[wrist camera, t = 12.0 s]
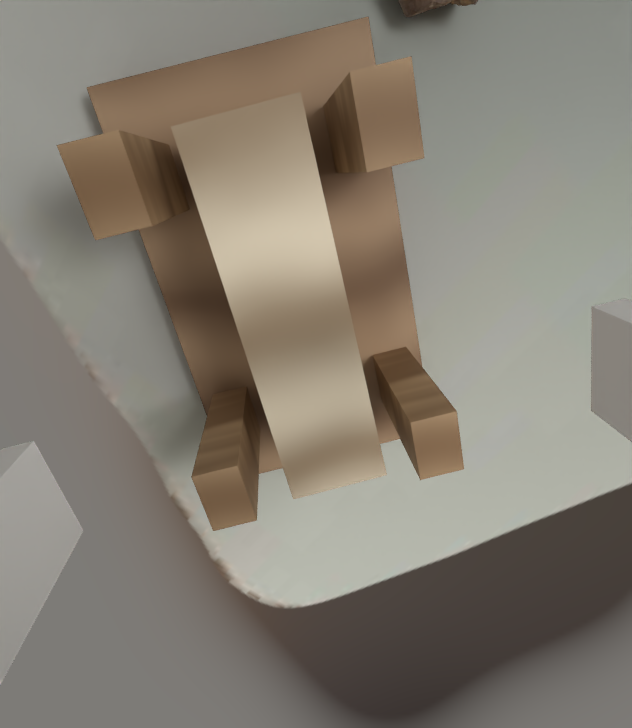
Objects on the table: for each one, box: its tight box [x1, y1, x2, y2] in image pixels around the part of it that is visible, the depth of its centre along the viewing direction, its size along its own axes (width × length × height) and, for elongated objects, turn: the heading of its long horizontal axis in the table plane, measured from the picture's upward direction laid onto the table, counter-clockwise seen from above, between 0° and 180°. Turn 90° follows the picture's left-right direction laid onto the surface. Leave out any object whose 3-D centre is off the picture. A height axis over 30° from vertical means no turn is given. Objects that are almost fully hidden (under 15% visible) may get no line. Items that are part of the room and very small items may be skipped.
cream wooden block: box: [171, 92, 387, 499], centre depth 22 cm, size 16×4×7 cm, turn 14°
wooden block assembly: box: [57, 17, 464, 531], centre depth 22 cm, size 22×13×10 cm, turn 13°
